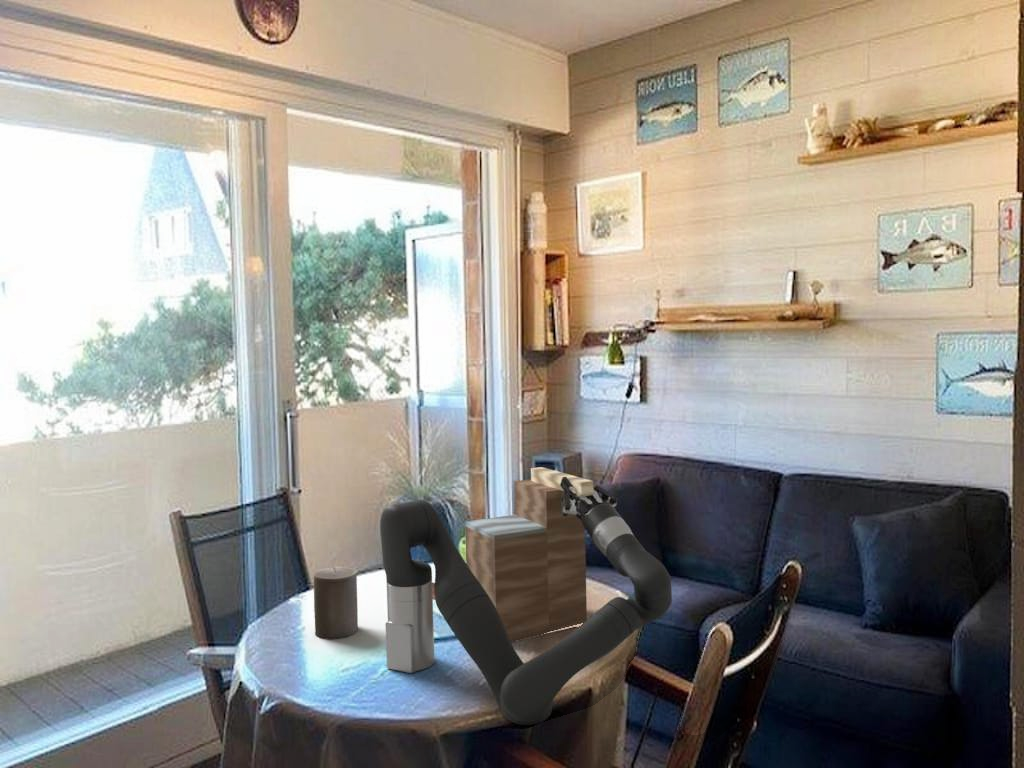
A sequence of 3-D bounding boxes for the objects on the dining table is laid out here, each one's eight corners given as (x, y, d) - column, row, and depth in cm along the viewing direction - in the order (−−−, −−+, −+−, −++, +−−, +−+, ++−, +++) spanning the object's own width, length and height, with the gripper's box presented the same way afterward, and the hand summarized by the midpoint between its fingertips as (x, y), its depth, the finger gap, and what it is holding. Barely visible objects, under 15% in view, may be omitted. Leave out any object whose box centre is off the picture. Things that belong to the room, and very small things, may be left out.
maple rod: (593, 494, 173) (593, 481, 173) (581, 496, 172) (581, 482, 172) (542, 479, 193) (541, 467, 192) (531, 480, 191) (530, 468, 191)
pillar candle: (315, 641, 179) (313, 574, 178) (314, 626, 188) (312, 562, 187) (360, 636, 181) (358, 571, 181) (356, 621, 191) (355, 559, 190)
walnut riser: (586, 625, 185) (584, 486, 183) (496, 645, 174) (493, 498, 172) (553, 606, 198) (550, 476, 196) (467, 623, 187) (464, 487, 185)
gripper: (575, 550, 164) (538, 495, 177) (631, 540, 171) (592, 488, 184) (585, 522, 161) (546, 468, 173) (642, 513, 167) (600, 462, 180)
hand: (570, 479), depth 178 cm, fingers closed on maple rod, 3 cm apart
